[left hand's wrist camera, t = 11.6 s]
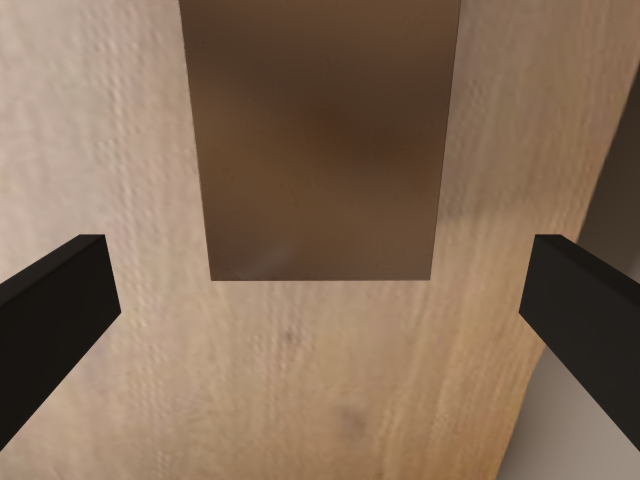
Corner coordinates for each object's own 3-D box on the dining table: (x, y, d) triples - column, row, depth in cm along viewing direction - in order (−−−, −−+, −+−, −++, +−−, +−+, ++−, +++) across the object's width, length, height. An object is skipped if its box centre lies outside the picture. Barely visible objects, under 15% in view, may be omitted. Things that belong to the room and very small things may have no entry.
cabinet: (210, -140, 21) (146, -271, 13) (428, -141, 21) (492, -273, 13) (240, 227, 28) (210, 281, 20) (400, 227, 28) (430, 280, 20)
